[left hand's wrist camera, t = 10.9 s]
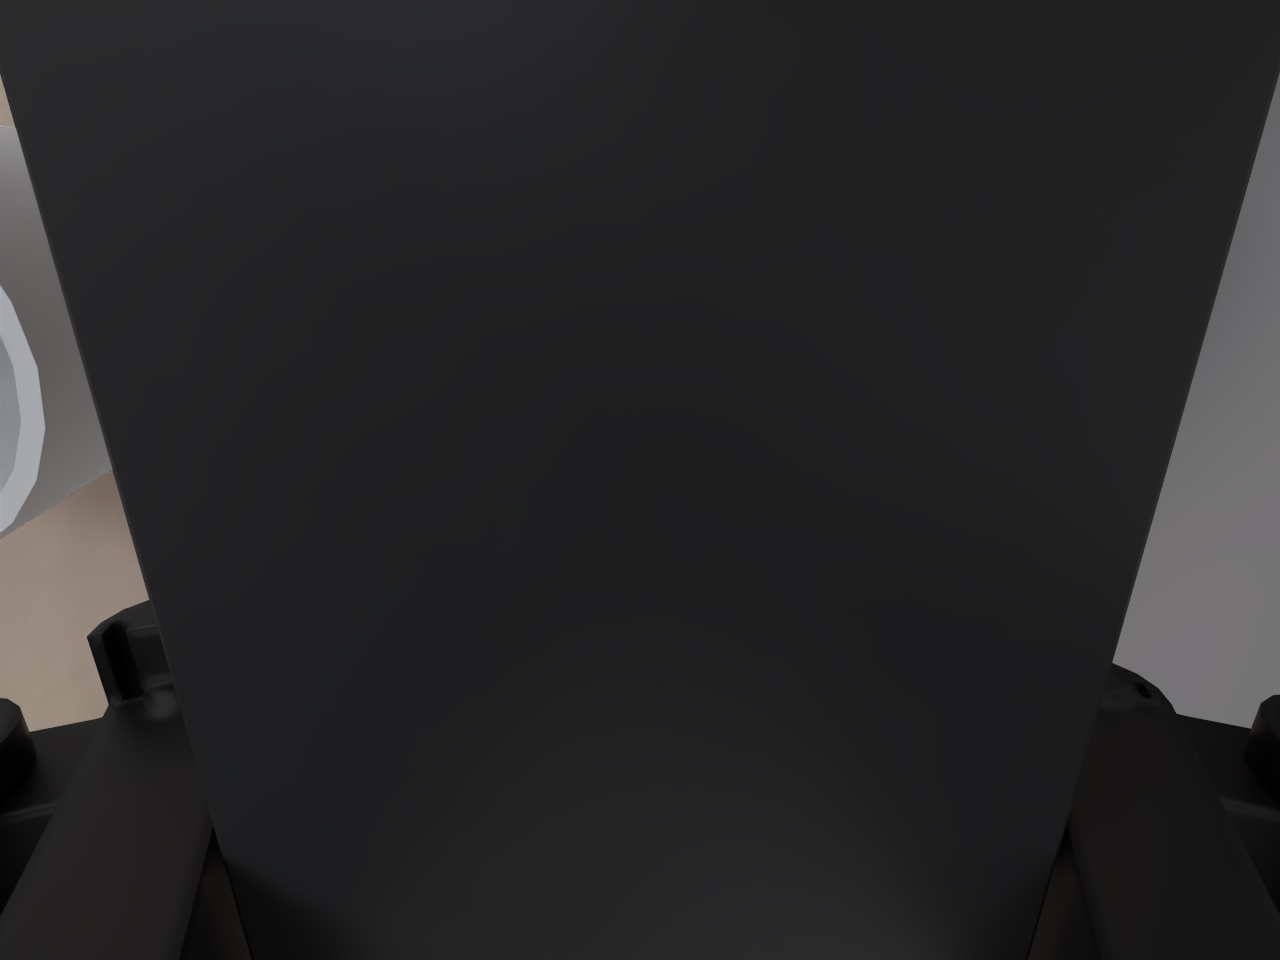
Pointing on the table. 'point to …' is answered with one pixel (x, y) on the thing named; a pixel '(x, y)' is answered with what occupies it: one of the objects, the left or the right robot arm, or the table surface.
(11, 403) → the mug
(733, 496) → the box
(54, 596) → the table surface
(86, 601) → the table surface
